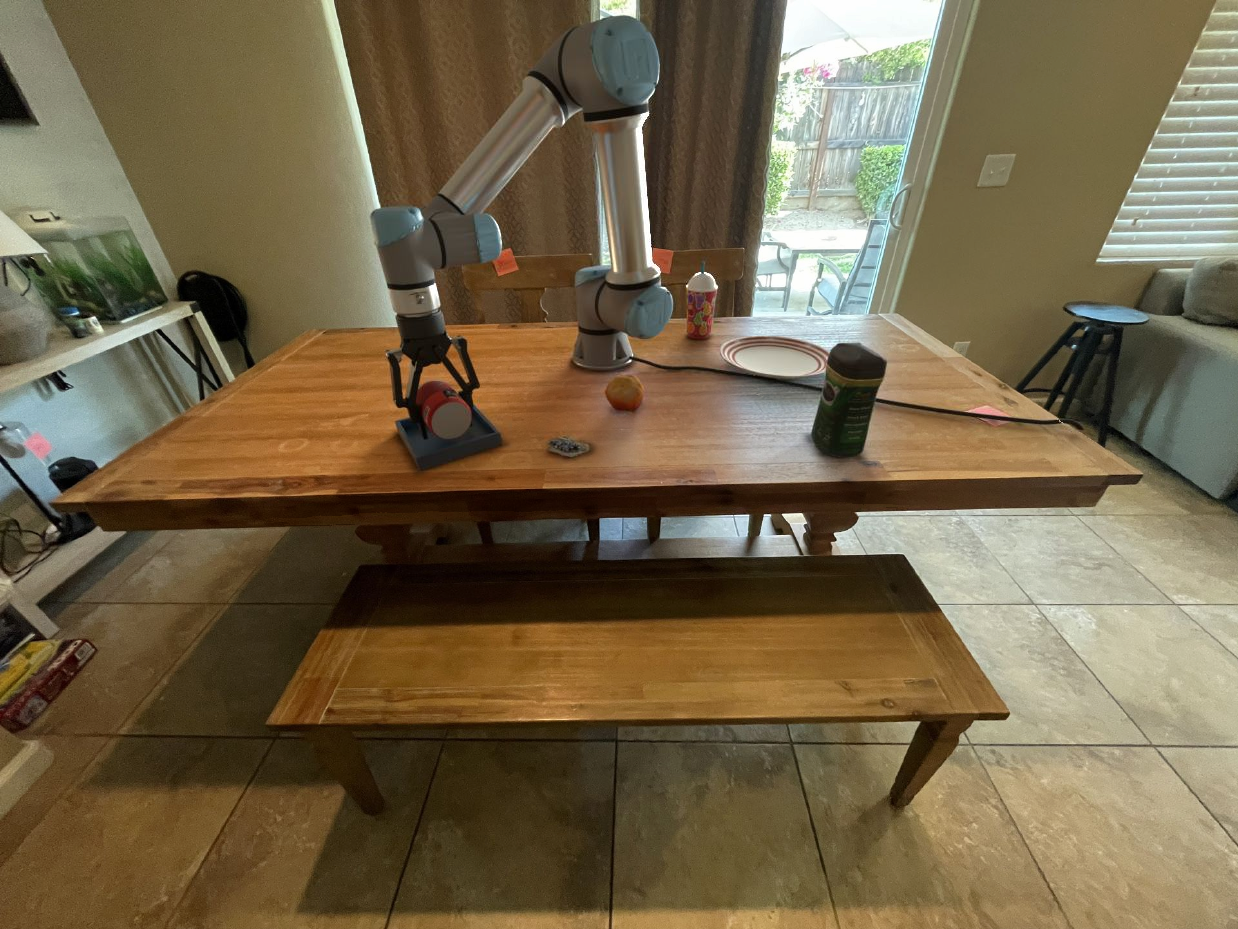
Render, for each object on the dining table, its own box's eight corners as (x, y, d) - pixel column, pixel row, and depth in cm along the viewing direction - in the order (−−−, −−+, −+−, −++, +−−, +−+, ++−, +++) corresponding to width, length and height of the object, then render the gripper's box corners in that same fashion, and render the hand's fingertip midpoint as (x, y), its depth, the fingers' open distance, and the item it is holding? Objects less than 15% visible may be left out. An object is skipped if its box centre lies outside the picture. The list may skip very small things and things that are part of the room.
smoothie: (712, 331, 146) (718, 258, 135) (714, 341, 139) (720, 265, 128) (683, 331, 147) (687, 258, 136) (684, 340, 140) (687, 265, 129)
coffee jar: (869, 458, 88) (899, 357, 78) (826, 461, 88) (850, 360, 78) (844, 431, 96) (868, 336, 86) (804, 433, 96) (823, 339, 86)
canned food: (455, 391, 87) (437, 371, 95) (419, 421, 86) (404, 398, 94) (482, 420, 92) (462, 398, 100) (448, 448, 91) (431, 425, 99)
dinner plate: (790, 340, 138) (792, 328, 137) (859, 377, 117) (862, 364, 115) (699, 354, 131) (700, 341, 130) (755, 396, 110) (757, 382, 108)
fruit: (651, 392, 109) (645, 370, 102) (642, 423, 106) (636, 402, 99) (616, 387, 112) (608, 365, 104) (606, 418, 108) (598, 397, 101)
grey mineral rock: (551, 438, 96) (550, 429, 95) (592, 439, 96) (592, 431, 95) (543, 457, 91) (542, 448, 90) (587, 458, 90) (586, 449, 89)
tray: (502, 445, 95) (500, 432, 93) (419, 470, 88) (415, 458, 87) (473, 412, 106) (470, 400, 105) (398, 433, 100) (394, 421, 98)
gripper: (355, 328, 76) (395, 455, 89) (485, 305, 86) (505, 422, 98) (347, 316, 82) (386, 437, 94) (470, 295, 91) (491, 408, 103)
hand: (446, 429), depth 96 cm, fingers closed on canned food, 8 cm apart
